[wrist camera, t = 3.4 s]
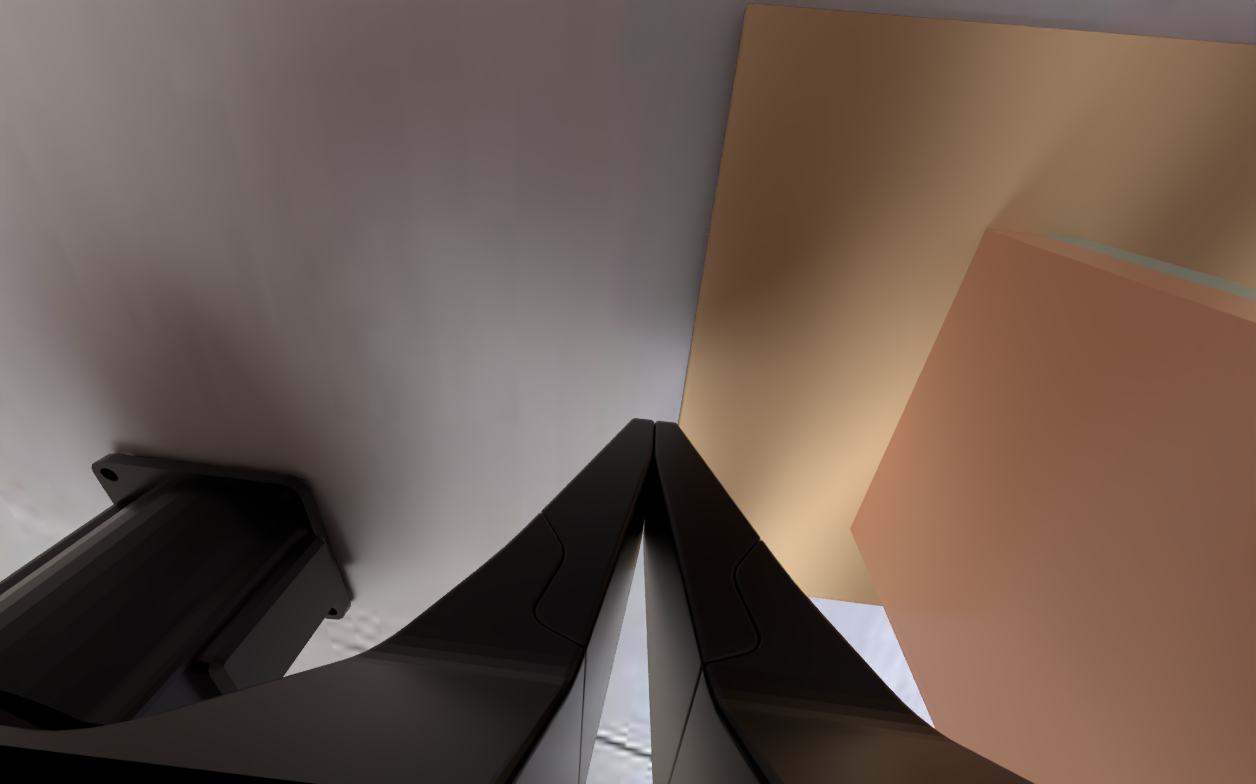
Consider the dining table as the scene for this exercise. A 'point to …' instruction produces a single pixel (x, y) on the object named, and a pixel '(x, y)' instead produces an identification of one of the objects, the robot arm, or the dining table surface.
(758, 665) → the robot arm
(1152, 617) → the tile
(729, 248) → the cork mat
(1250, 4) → the dining table surface
